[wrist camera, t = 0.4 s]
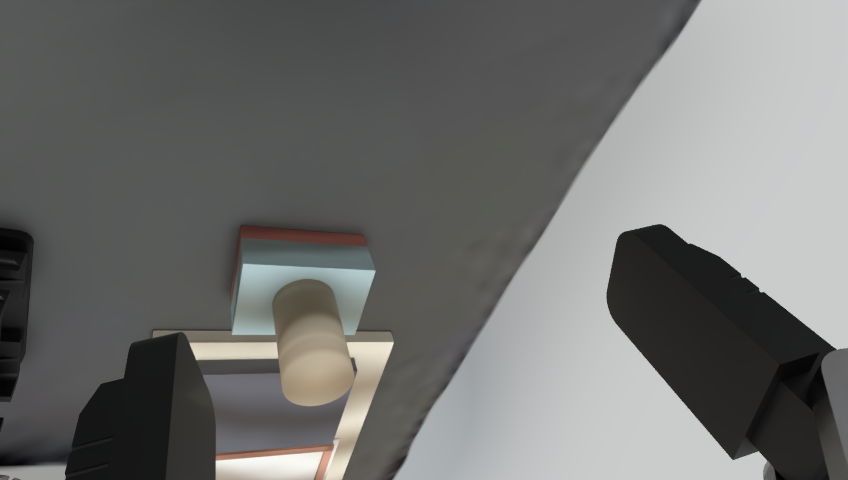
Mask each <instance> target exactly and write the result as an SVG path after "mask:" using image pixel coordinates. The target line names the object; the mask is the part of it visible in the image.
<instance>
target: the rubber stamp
mask: <svg viewBox="0 0 848 480" xmlns="http://www.w3.org/2000/svg"><path fill="white" fill-rule="evenodd" d="M375 271H376V270H375V267H374V264H373V262H372V259H371V256H370V253H369V250H368V247H367V244H366V242H365V239H364V236H363V235H356V234H343V233H331V232H318V231H306V230H293V229H280V228H268V227H255V226H243V225H241V227H240V233H239V240H238V246H237V253H236V260H235V266H234V273H233V280H232V286H231V293H230V298H231V324H232V335H276V342H277V351H278V359H279V367H280V376H281V384H282V391H283V394H284V396H285V397H286V398H287V399H288V400H289V401H290V402H292V403H294V404H297V405H302V406H318V405H323V404H326V403H329V402H332V401H334V400H336V399H338V398H340V397H341V396H343V395H344V394H345V393H346V392H347V391H348V390H349V389H350V388H351V386H352V384H353V382H354V371H353V367H352V363H351V359H350V355H349V351H348V347H347V343H346V339H345V335H355V333H356V330H357V327H358V324H359V320H360V317H361V314H362V311H363V308H364V305H365V302H366V299H367V296H368V293H369V290H370V287H371V283H372V280H373V277H374V274H375Z"/></svg>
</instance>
